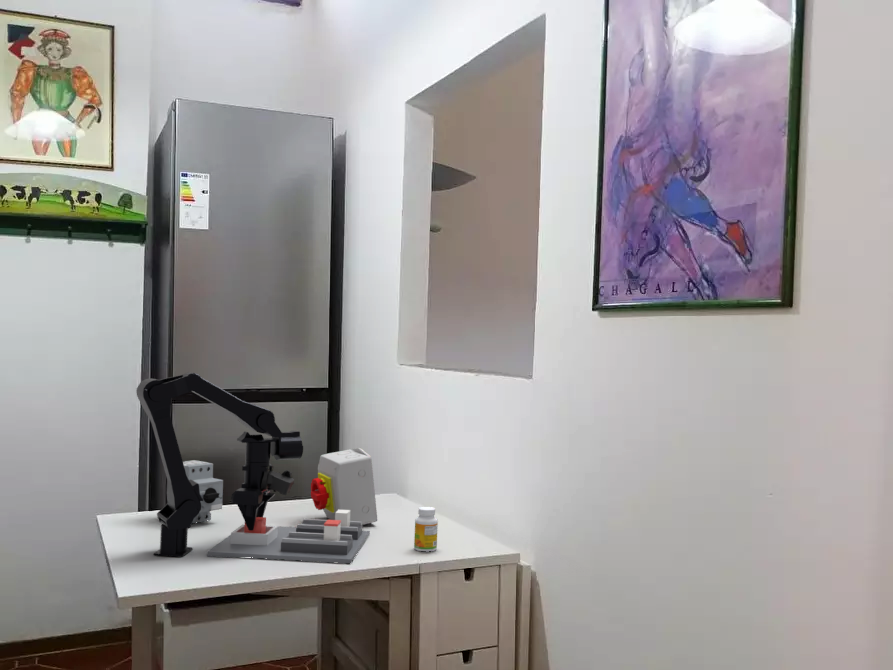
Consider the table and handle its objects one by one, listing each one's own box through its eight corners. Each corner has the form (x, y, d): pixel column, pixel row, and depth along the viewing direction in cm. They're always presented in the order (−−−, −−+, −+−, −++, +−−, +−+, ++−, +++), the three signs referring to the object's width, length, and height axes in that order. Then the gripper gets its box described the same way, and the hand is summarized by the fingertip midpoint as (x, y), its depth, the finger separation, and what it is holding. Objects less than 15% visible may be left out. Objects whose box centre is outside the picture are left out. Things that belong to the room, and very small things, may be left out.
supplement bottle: (410, 547, 193) (412, 506, 193) (432, 545, 195) (433, 505, 195) (418, 552, 188) (419, 511, 188) (439, 551, 190) (441, 510, 190)
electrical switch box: (306, 526, 219) (299, 453, 218) (358, 514, 226) (350, 444, 225) (324, 539, 206) (316, 461, 205) (378, 526, 213) (370, 451, 212)
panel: (350, 564, 176) (351, 546, 176) (207, 556, 178) (207, 538, 178) (369, 535, 203) (370, 519, 203) (244, 528, 205) (245, 513, 205)
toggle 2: (346, 529, 195) (347, 513, 195) (334, 528, 196) (335, 512, 196) (349, 525, 199) (350, 510, 199) (337, 524, 200) (338, 509, 200)
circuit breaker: (200, 529, 202) (203, 469, 203) (167, 520, 211) (169, 462, 211) (225, 524, 208) (227, 466, 209) (192, 515, 217) (194, 459, 217)
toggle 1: (336, 543, 181) (337, 524, 181) (323, 542, 182) (324, 523, 182) (340, 539, 185) (341, 520, 186) (327, 538, 186) (327, 519, 186)
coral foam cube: (260, 542, 187) (261, 521, 188) (243, 541, 188) (244, 520, 188) (265, 538, 191) (266, 517, 192) (248, 537, 192) (249, 516, 192)
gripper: (281, 468, 180) (278, 538, 180) (300, 457, 199) (298, 520, 198) (232, 466, 181) (229, 536, 180) (256, 454, 199) (253, 518, 199)
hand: (254, 527), depth 190 cm, fingers open, 6 cm apart
